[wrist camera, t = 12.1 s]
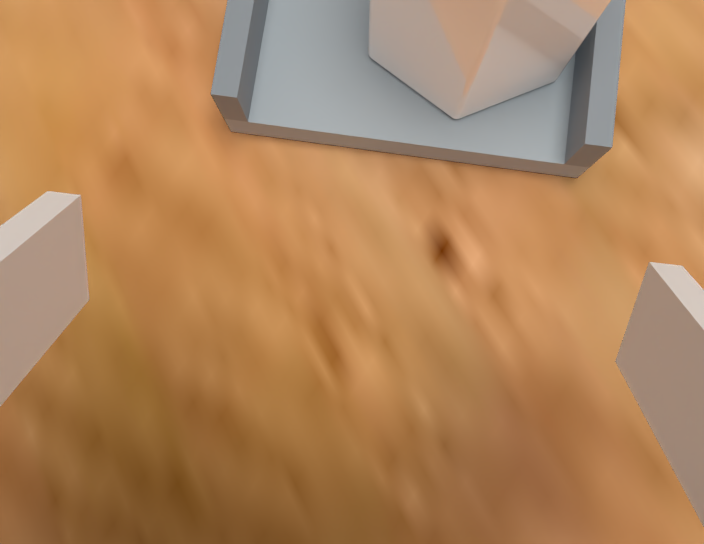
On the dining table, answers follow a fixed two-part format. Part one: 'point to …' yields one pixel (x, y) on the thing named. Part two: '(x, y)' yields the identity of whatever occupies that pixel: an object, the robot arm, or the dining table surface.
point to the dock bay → (404, 92)
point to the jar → (477, 46)
